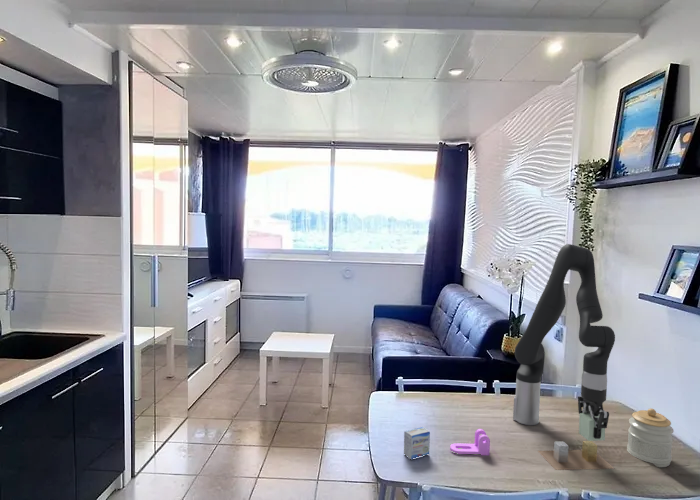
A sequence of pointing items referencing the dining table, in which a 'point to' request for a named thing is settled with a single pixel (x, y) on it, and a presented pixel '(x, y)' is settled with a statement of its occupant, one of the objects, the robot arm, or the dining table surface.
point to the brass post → (589, 451)
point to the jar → (650, 437)
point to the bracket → (474, 445)
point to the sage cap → (589, 427)
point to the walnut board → (575, 461)
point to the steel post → (561, 451)
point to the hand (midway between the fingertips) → (591, 433)
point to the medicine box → (416, 442)
